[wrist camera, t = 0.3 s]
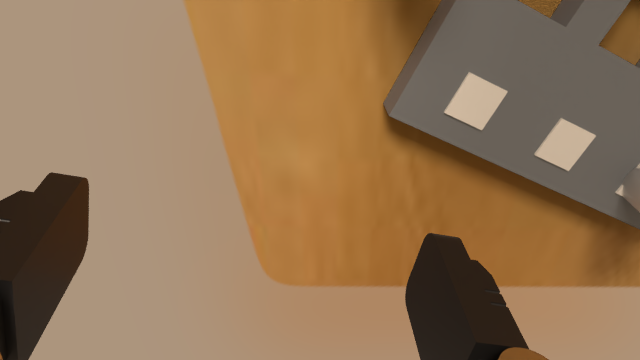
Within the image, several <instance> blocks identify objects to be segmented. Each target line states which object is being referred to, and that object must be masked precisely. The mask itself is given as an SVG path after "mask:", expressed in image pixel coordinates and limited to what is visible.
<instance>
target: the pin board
mask: <svg viewBox="0 0 640 360" xmlns="http://www.w3.org/2000/svg"><path fill="white" fill-rule="evenodd" d="M630 1H631V0H562V1H561V3H560V4H559V6H558V7H557V9H556V10H555V12H554V13H553V15H552V16H551V18H548V17H547V16H545V15H543V14H541V13H539V12H538V11H536V10H534V9H532V8H530V7H529V6H527V5H525V4H523V3H522V2H520V1H518V0H442V1H441V2H440V4H439V6H438V8H437V9H436V11H435V13H434V15H433V16H432V18H431V20H430V22H429V24H428V25H427V27H426V29H425V31H424V32H423V34H422V36H421V38H420V39H419V41H418V43H417V45H416V46H415V48H414V50H413V52H412V53H411V55H410V57H409V59H408V61H407V62H406V64H405V66H404V68H403V69H402V71H401V73H400V75H399V76H398V78H397V80H396V82H395V83H394V85H393V87H392V89H391V90H390V92H389V94H388V96H387V98H386V99H385V101H384V103H383V104H384V106H385V108H386V111H387V113H388V115H389V116H390V117H392V118H395V119H397V120H399V121H401V122H403V123H406V124H408V125H410V126H412V127H414V128H417V129H419V130H421V131H423V132H426V133H428V134H430V135H432V136H434V137H437V138H439V139H441V140H443V141H445V142H448V143H450V144H452V145H454V146H456V147H459V148H461V149H463V150H465V151H468V152H470V153H472V154H474V155H476V156H479V157H481V158H483V159H485V160H487V161H490V162H492V163H494V164H496V165H499V166H501V167H503V168H505V169H507V170H510V171H512V172H514V173H516V174H518V175H521V176H523V177H525V178H527V179H529V180H532V181H534V182H536V183H538V184H541V185H543V186H545V187H547V188H549V189H552V190H554V191H556V192H558V193H560V194H563V195H565V196H567V197H569V198H571V199H574V200H576V201H578V202H580V203H583V204H585V205H587V206H589V207H591V208H594V209H596V210H598V211H600V212H602V213H605V214H607V215H609V216H611V217H614V218H616V219H618V220H620V221H622V222H625V223H627V224H629V225H631V226H633V227H636V228H638V229H640V60H639V61H638V63H637V64H636V65H633V64H631V63H629V62H628V61H626V60H624V59H622V58H620V57H619V56H617V55H615V54H613V53H611V52H610V51H608V50H606V49H604V48H602V47H601V46H599V44H600V42H601V41H602V40H603V38H604V37H605V35H606V34H607V33H608V31H609V30H610V28H611V27H612V26H613V24H614V23H615V22H616V20H617V19H618V17H619V16H620V15H621V13H622V12H623V10H624V9H625V8H626V6H627V5H628V4H629V2H630Z"/></svg>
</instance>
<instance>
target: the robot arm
mask: <svg viewBox="0 0 640 360" xmlns="http://www.w3.org/2000/svg"><path fill="white" fill-rule="evenodd" d="M88 207H89V184H88V180H87V179H86V178H82V177H77V176H71V175H63V174H58V173H49V174H48V175H47V176H46V178H45V179H44V180H43V181H42V182H41V184H40V185H39V186H38V187H37V189H36V190H35V191H34V192H28V191H22V190H20V191H19V192H16V193H15V194H13V195H11V196H9V197H7V198H5V199H3V200H1V201H0V360H28V359H29V357H30V355H31V354H32V352H33V350H34V348H35V346H36V344H37V343H38V341H39V339H40V337H41V335H42V333H43V332H44V330H45V328H46V326H47V324H48V322H49V321H50V319H51V317H52V315H53V313H54V311H55V310H56V308H57V306H58V304H59V302H60V300H61V298H62V297H63V294H64V293H65V291H66V289H67V287H68V286H69V284H70V282H71V280H72V278H73V276H74V275H75V273H76V271H77V269H78V267H79V265H80V263H81V261H82V259H83V257H84V254H85V251H86V246H87V241H88V216H89V215H88V214H89V208H88ZM499 292H500V291H499V289H498V287H497V285H496V283H495V281H494V279H493V277H492V275H491V274H490V273H489V272H488V271H487V270H486V269H485V268H484V267H483V266H482V265H481V264H480V263H479V262H478V261H476V260H470V258H469V256H468V253H467V251H466V249H465V247H464V245H463V243H462V241H461V239H460V238H458V237H452V236H445V235H439V234H433V233H429V234H427V235H426V237H425V238H424V241H423V243H422V246H421V248H420V251H419V253H418V256H417V259H416V261H415V264H414V266H413V269H412V272H411V274H410V277H409V279H408V283H407V287H406V296H405V298H406V299H405V300H406V307H407V311H408V315H409V319H410V322H411V326H412V329H413V333H414V337H415V341H416V345H417V348H418V352H419V356H420V359H421V360H548V359H547V358H545V357H544V356H542V355H540V354H538V353H536V352H534V351H531V350H529V348H528V346H527V344H526V342H525V340H524V338H523V336H522V334H521V333H520V330H519V328H518V326H517V324H516V322H515V320H514V318H513V316H512V314H511V312H510V310H509V308H508V307H506V302H505V301H504V299H503V297H502V295H501V294H499Z"/></svg>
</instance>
